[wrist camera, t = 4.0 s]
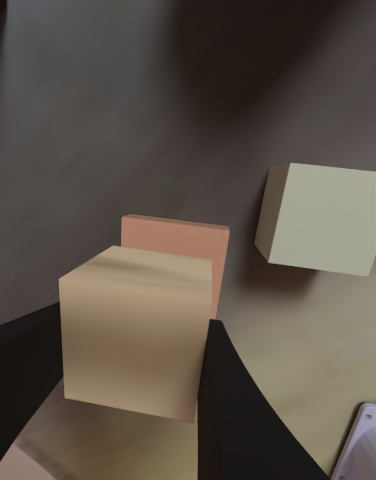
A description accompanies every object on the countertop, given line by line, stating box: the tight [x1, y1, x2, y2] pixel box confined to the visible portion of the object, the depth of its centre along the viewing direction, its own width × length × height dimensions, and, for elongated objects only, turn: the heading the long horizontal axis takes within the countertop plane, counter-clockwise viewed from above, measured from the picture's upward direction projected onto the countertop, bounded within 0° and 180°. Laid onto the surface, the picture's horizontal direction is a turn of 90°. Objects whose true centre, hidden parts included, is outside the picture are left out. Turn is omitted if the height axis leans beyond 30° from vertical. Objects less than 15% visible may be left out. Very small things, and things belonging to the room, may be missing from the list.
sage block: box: [254, 163, 376, 277], centre depth 12 cm, size 5×5×4 cm
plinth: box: [121, 214, 230, 319], centre depth 15 cm, size 7×7×2 cm
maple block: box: [59, 246, 212, 423], centre depth 9 cm, size 5×5×4 cm
